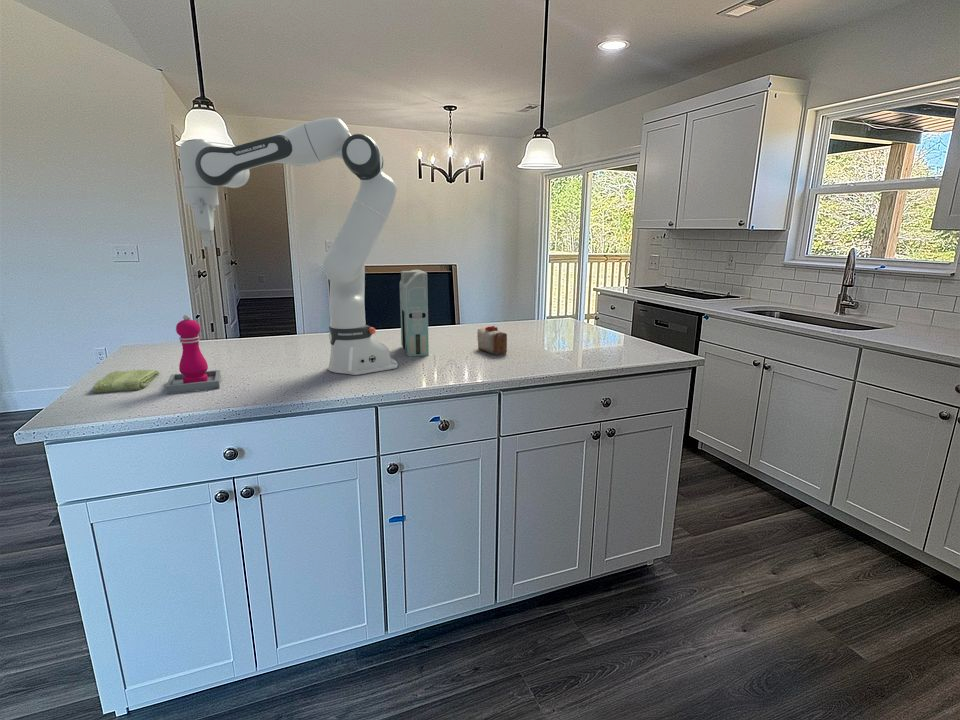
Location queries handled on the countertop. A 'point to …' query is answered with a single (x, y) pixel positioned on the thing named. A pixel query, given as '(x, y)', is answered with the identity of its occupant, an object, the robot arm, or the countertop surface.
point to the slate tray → (177, 384)
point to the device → (414, 312)
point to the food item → (492, 340)
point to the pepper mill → (191, 352)
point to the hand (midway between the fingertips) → (207, 246)
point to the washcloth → (125, 381)
